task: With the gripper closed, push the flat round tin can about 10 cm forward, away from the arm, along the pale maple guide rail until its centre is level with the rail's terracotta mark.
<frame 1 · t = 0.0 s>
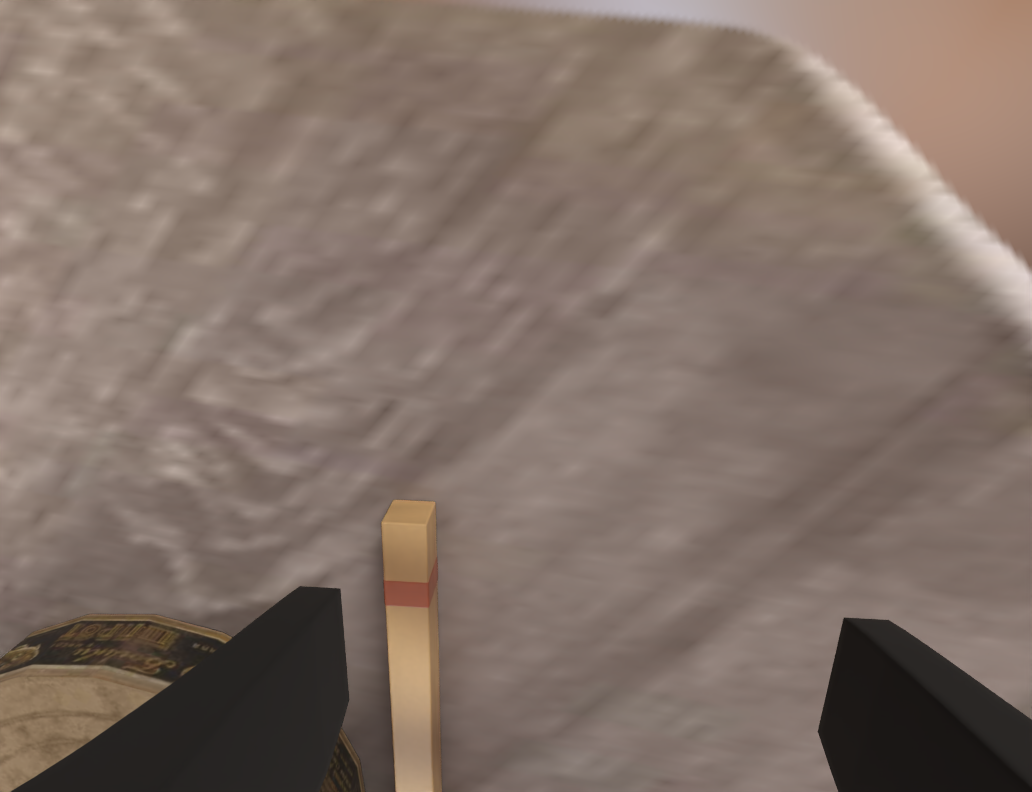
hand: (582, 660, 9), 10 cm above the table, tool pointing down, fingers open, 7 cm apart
tin can: (173, 775, 24), on the table
guide rail: (421, 718, 22), on the table
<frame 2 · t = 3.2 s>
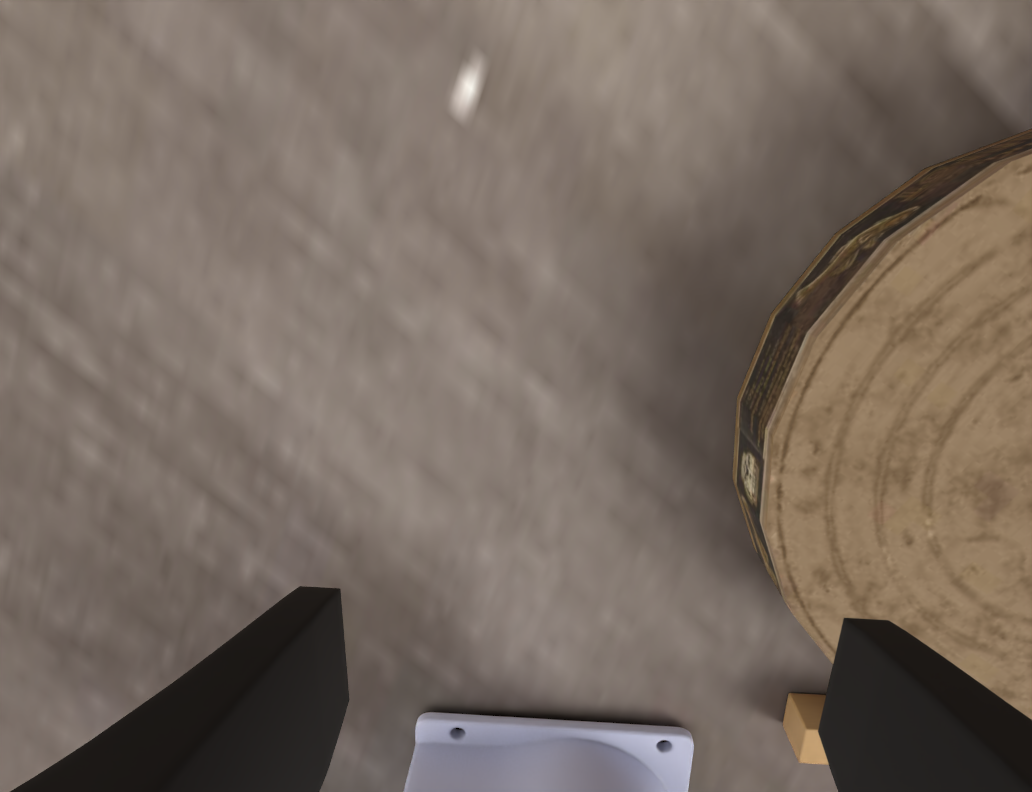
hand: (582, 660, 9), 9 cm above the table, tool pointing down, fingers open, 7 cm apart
tin can: (1017, 428, 17), on the table
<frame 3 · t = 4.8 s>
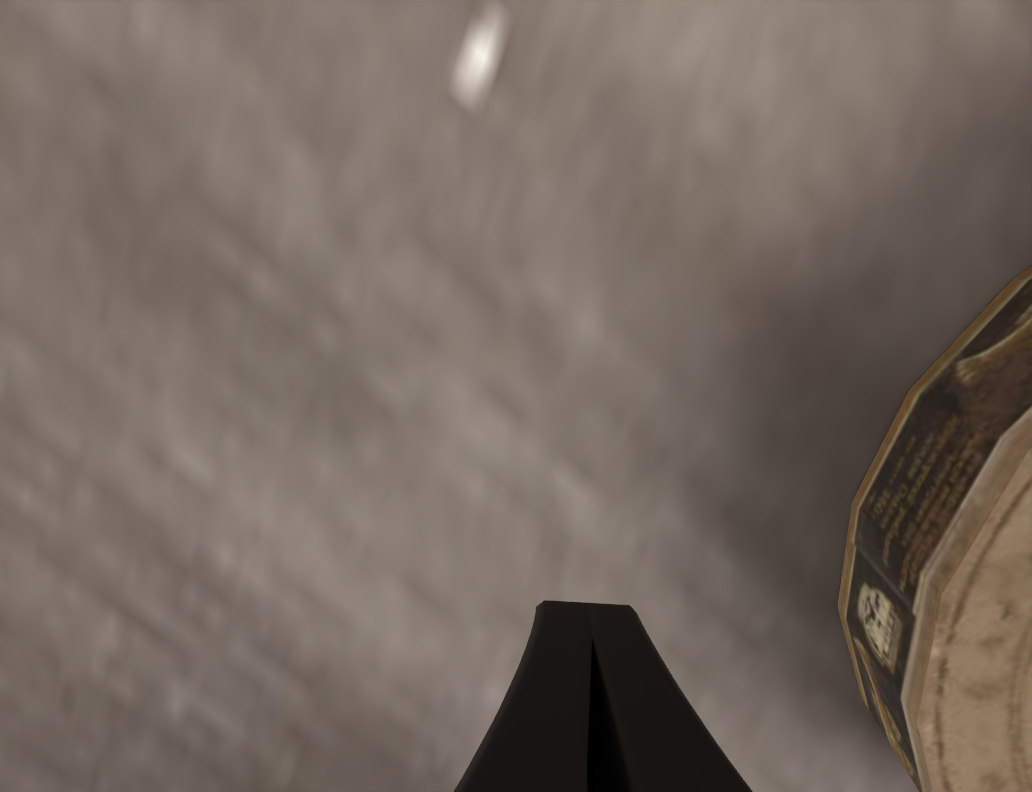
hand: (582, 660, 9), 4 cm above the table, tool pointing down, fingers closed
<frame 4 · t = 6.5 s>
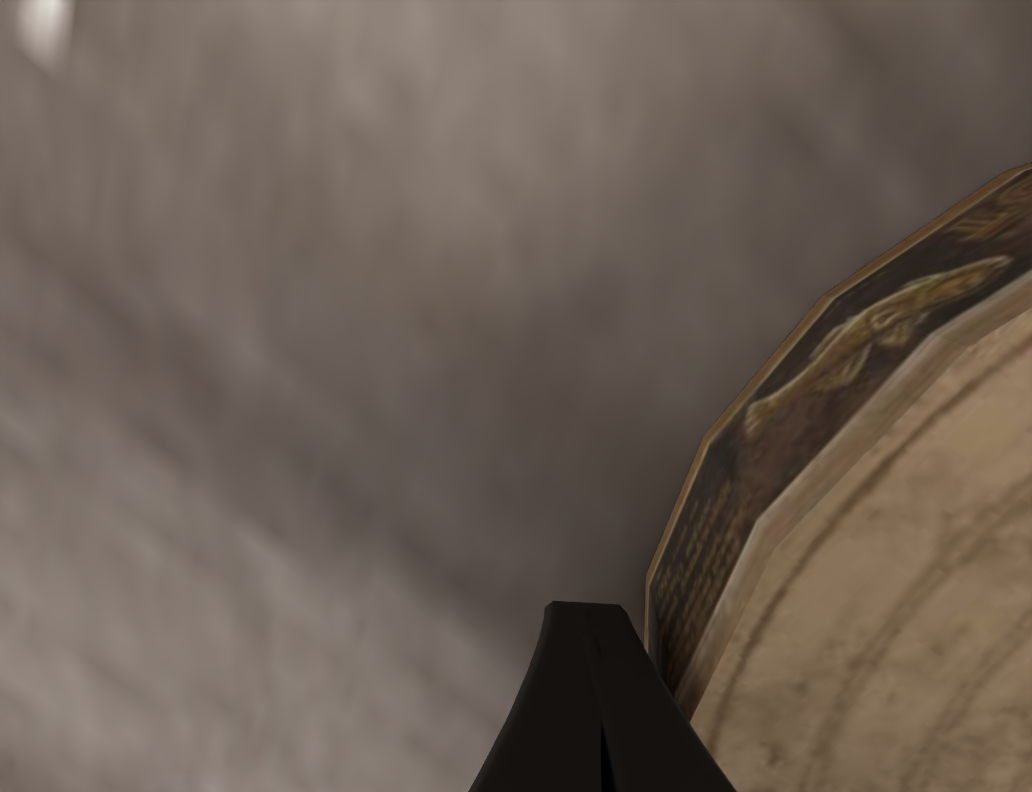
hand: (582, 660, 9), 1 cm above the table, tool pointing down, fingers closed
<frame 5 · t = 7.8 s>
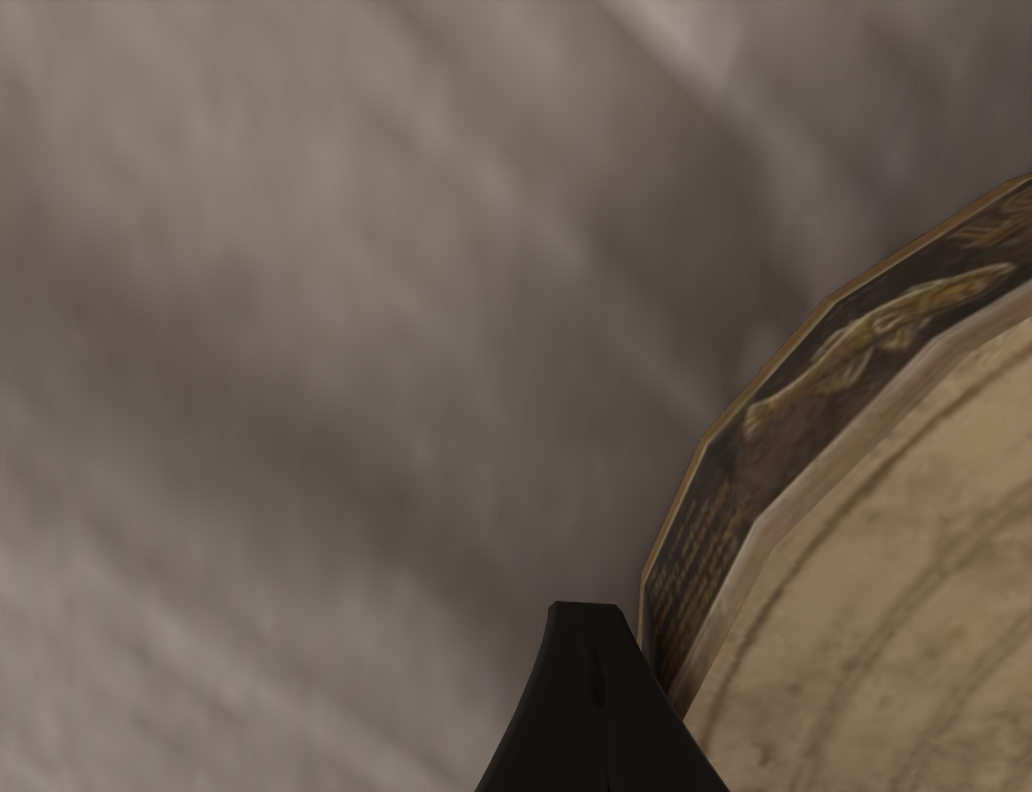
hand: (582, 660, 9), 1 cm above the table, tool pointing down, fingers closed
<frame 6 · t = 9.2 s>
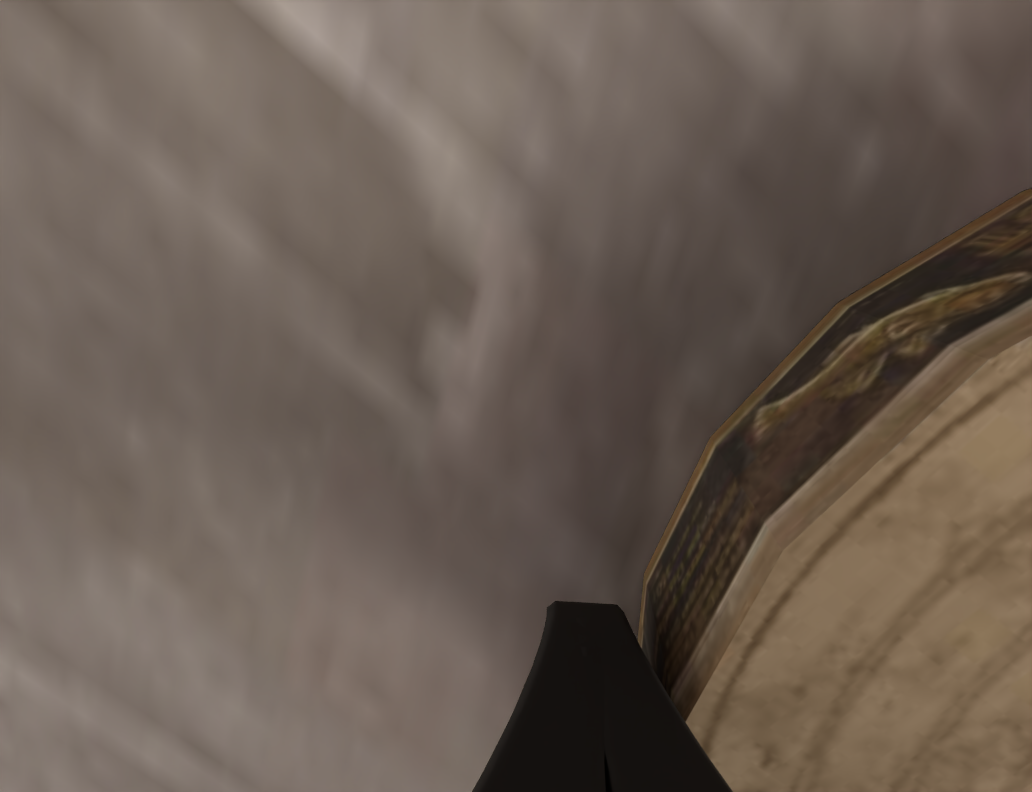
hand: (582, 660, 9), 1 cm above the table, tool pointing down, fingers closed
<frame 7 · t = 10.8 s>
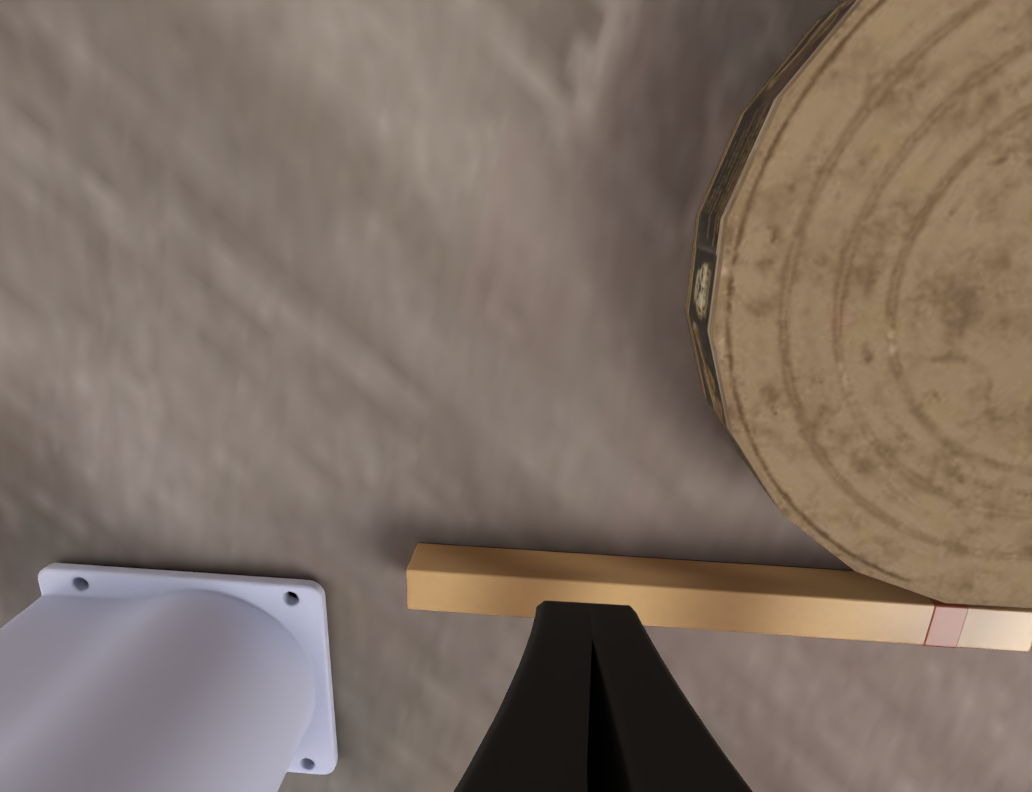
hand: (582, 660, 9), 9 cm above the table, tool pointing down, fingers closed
tin can: (995, 273, 16), on the table
guide rail: (702, 579, 19), on the table
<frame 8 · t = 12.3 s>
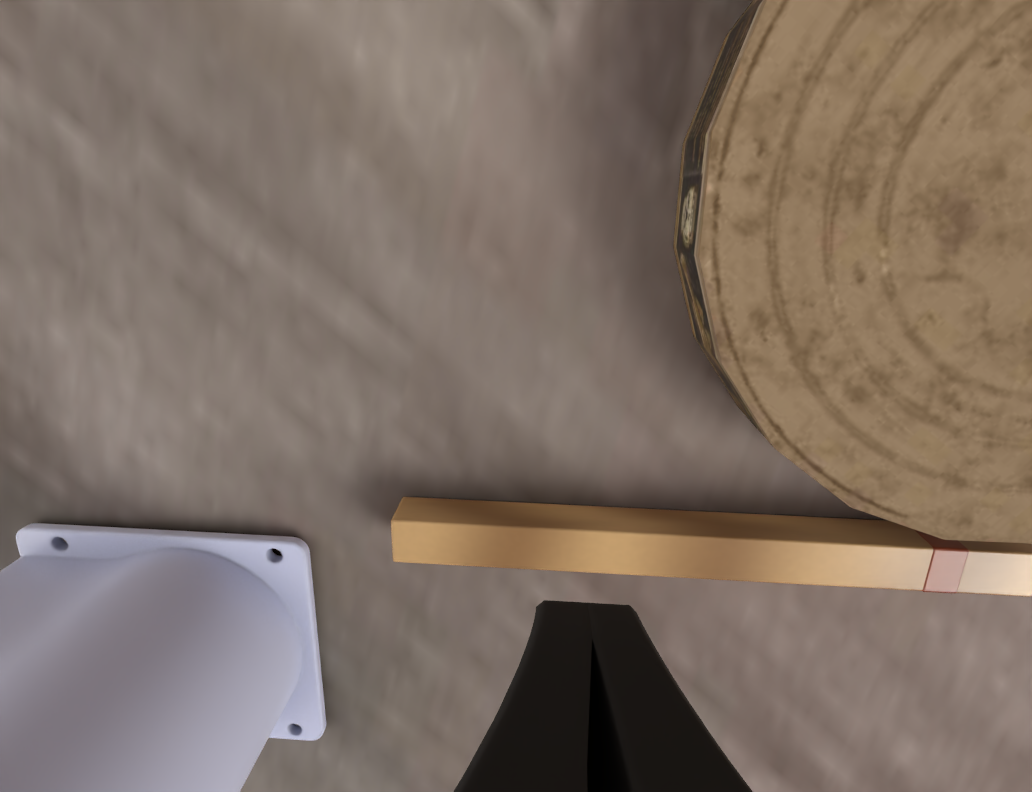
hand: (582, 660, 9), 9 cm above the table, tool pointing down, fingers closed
tin can: (991, 201, 15), on the table
guide rail: (695, 530, 19), on the table
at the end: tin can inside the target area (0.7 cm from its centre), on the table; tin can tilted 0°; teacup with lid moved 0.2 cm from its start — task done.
